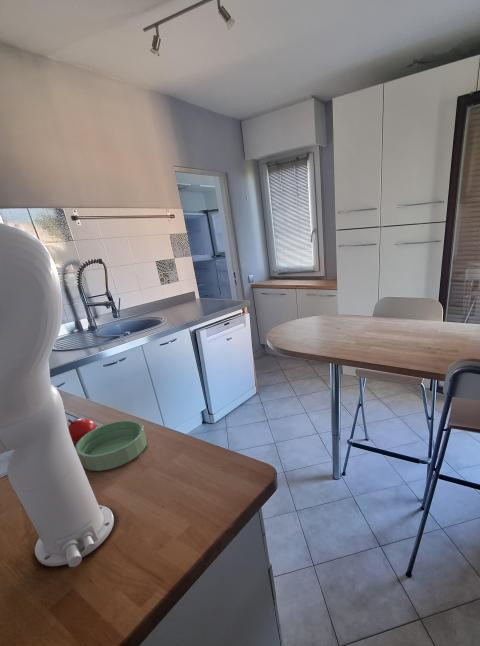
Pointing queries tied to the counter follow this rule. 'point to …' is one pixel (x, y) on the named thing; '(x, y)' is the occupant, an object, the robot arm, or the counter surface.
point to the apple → (80, 428)
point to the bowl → (111, 445)
